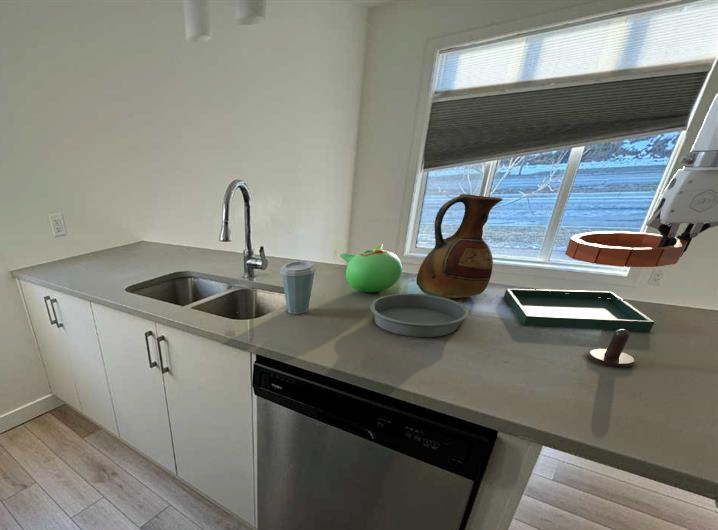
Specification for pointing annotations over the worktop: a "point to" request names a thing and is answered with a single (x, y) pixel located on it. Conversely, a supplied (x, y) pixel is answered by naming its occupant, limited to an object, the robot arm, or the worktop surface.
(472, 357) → the worktop surface
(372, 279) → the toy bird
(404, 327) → the cake pan
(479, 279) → the ceramic pitcher
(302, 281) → the disposable coffee cup
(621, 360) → the post
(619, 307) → the tray
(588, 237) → the ring
